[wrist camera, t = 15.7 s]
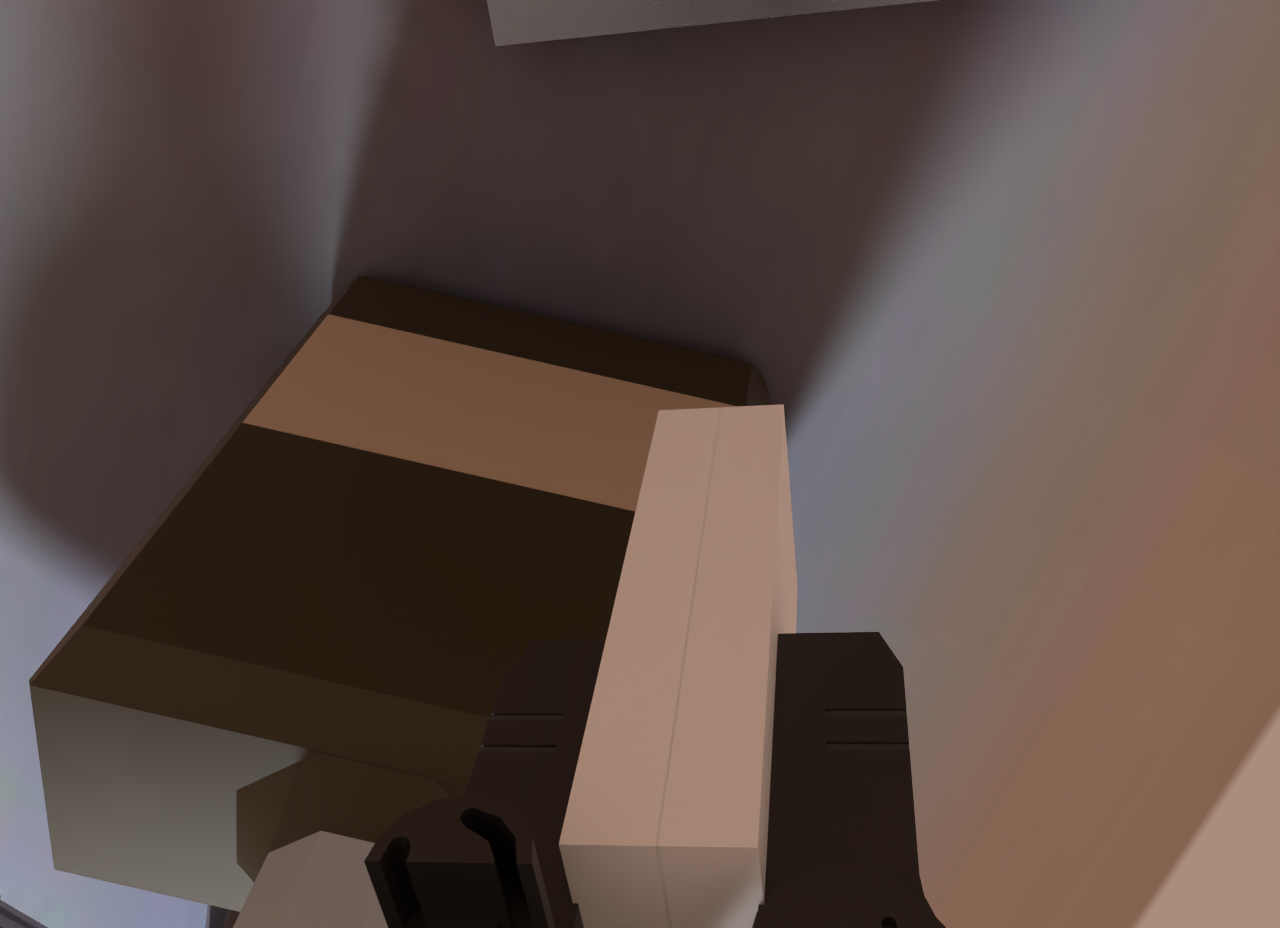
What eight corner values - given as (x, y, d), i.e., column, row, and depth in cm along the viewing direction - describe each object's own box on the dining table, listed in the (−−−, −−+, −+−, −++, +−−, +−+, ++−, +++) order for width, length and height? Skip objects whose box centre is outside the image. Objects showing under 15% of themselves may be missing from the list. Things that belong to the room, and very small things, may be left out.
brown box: (737, 542, 46) (663, 1270, 25) (322, 448, 46) (-104, 1092, 25) (790, 358, 41) (754, 1053, 20) (330, 254, 41) (-179, 839, 20)
